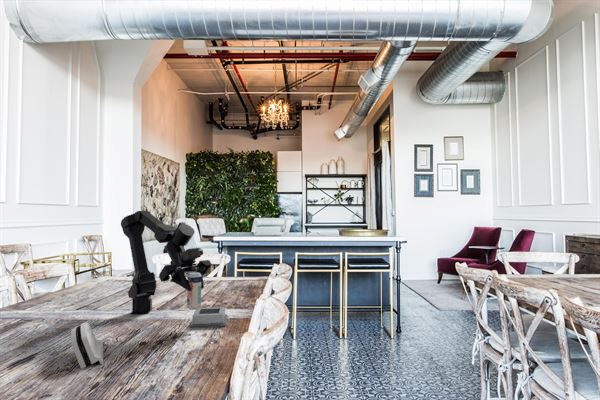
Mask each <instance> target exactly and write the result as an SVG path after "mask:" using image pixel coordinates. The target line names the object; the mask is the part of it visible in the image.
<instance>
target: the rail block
mask: <svg viewBox="0 0 600 400" xmlns="http://www.w3.org/2000/svg"><path fill="white" fill-rule="evenodd" d="M227 320H228V314H226V306H221V307H220V306H219V307H217V306H216V307H215V306H214V307H213V306H212V307H200V308H199V309H194V312H193V314H192V321H191V323H190V325H189V329H200V328H201V329H202V328H203V329H204V328H221V327H224V328H225V327H227V323H228V321H227Z"/></svg>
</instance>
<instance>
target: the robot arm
mask: <svg viewBox="0 0 600 400" xmlns="http://www.w3.org/2000/svg"><path fill="white" fill-rule="evenodd" d="M120 227H121V229H122V232H123V234H124V235H125V236H126V237H127V238H128V241H129V246H130V253H131V257H132V263H133V268H134V276H133V278H132V279H131V280H132V281H131V283H132V285H131V286H130V288H129V290H128V292H127V294H128V295H127V297H128V298H129V299H132V300H131V307H132V308H131V310H132V311H131V312H130V315H136V314H137V315H139V314H141V315H143V314H144V315H145V314H148V313H150V312H151V311H152V310H153V299H152V297H151V296H155V294H156V290H157V280H156V275H155V273H154V271H153V272H151V271H150V270H149V266H148V262H147V257H146V252H145V246H144V242H143V241H144V240H143V234H144V231H145V227H146V228H147V229H149V231H151V232H152V233H153V234H154V236H153V237H154V238H155V240H156V241H157V242H158V243H159V244H166V245H164V246H163V247H164V249H162V254H168V256H169V258H170V260H171V261H170V262H169V264H166V265H164V266H163V267H162V269H161V271H160V272H159V274H158V278H159V280H160V282H167V281H169V280H170V282H171V283H174V284H177V285H178V286H180V287H182V288H183V289H185V290H186V291H187V290H188V291H191V287H190V284H189V282H188V281H187V276H186V274H189V273H192V272H199V273H200V274H201V290H202V289H204V287H205V286H204V278H203V277H204V276H205V275H206V274H207V273H208V271H209V270H210V268H211V267H212V265H213V264H212V262H211V261H210V260H209V259H205V260H200V261H199V262H198V263H197V264H195V263H196V262H197V261H196V259H198V258H200V257H202V256H203V254H204V250H203V248H202V247H201V246H196V247H192V248H188V249H185V248H184V247H185V246H187V245H188V244H189V242H190V240H191V239H192V237H193V236H194V235H195V229H194V228H193V227H192V226H191V225H188V224H186V223H185V222H179V223H178V226H177V227H176V226H173V225H171V224H166V223H164V222H162V221H161V220H160V219H158V218H157V217H156V216H154V215H153V214H152V213H151V211H149V210H138V211H136V212H135V213H132V214H129V215H127V216H124V217H123V218H122V219H121V221H120ZM194 264H195V265H194Z"/></svg>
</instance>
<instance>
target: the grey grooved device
mask: <svg viewBox="0 0 600 400" xmlns="http://www.w3.org/2000/svg"><path fill="white" fill-rule="evenodd" d="M70 342H71V347H72V349H73V352H74V354H75V357H76V360H77V362H78V364H79V367H80V369H84V368H87V366H88V364H89V365H90V364H91V365H93V364H95V363H96V362H99V364H100V365H104V345H103V343H102V340H101V339H98V338H96V337H95V334H94V332H93V330H92V328H91V324H90V323H89V322H87V321H86V322H83V323H81V324H80V325H76V326H75V327H73V328H72V329H71V331H70Z"/></svg>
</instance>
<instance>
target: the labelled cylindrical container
mask: <svg viewBox="0 0 600 400" xmlns="http://www.w3.org/2000/svg"><path fill="white" fill-rule="evenodd" d="M186 279H187V281H188V282H189V284H190V287H191V291H188V290H186V291H187V292H186V295H187V296H186V298H187V299H186V308H187V309H188V310H196V309H199V308H202V289H201V274H200V273H199V272H188V273H187V276H186Z"/></svg>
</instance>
